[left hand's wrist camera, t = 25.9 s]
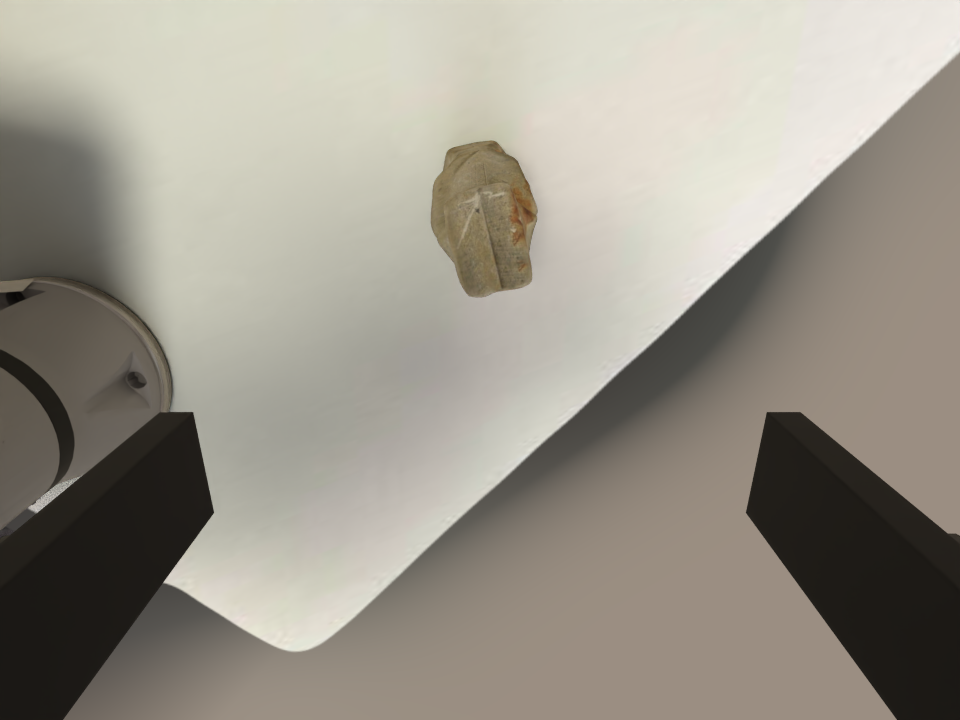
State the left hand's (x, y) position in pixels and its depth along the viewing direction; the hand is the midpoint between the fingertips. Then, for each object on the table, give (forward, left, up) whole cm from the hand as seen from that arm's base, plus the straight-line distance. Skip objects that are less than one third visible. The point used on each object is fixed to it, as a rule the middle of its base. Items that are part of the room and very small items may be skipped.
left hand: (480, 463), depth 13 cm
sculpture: (+3, +2, -29) cm, 29 cm away
